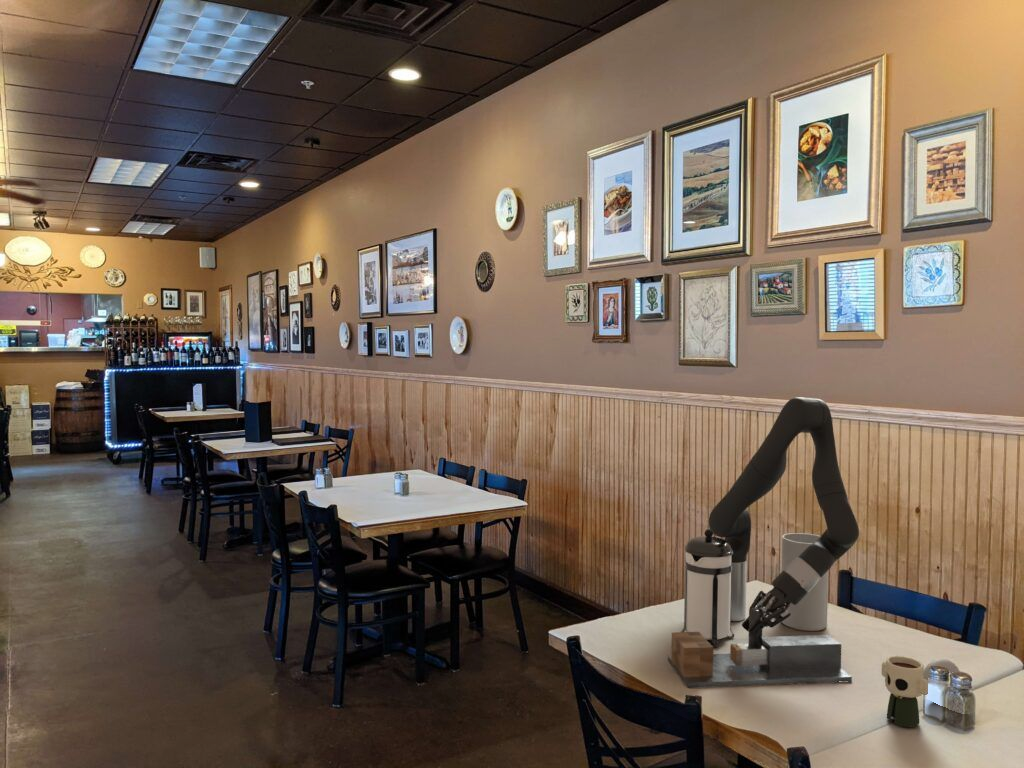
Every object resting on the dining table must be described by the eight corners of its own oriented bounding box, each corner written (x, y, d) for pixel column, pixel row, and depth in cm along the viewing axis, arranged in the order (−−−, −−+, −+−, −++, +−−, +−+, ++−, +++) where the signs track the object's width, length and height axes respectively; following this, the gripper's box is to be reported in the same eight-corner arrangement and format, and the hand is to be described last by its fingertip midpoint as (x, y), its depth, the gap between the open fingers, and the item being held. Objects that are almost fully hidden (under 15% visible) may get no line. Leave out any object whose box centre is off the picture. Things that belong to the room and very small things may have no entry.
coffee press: (746, 649, 201) (748, 536, 200) (685, 648, 201) (687, 535, 200) (728, 625, 218) (730, 521, 217) (672, 624, 219) (674, 521, 217)
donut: (928, 709, 168) (930, 664, 167) (916, 702, 171) (917, 658, 170) (964, 703, 171) (965, 659, 170) (951, 696, 174) (952, 653, 173)
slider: (730, 659, 188) (731, 608, 188) (822, 656, 191) (824, 605, 190) (736, 665, 185) (737, 613, 184) (830, 662, 187) (832, 610, 186)
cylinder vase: (771, 620, 223) (773, 535, 222) (803, 614, 228) (805, 531, 227) (804, 634, 211) (806, 545, 210) (836, 628, 217) (839, 541, 216)
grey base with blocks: (667, 660, 193) (667, 632, 193) (818, 655, 197) (818, 627, 197) (688, 687, 177) (688, 657, 177) (851, 681, 181) (852, 651, 181)
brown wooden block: (671, 660, 190) (671, 632, 190) (698, 659, 191) (698, 631, 191) (684, 677, 180) (684, 648, 180) (712, 676, 181) (713, 647, 181)
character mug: (869, 714, 165) (870, 655, 164) (892, 708, 168) (894, 650, 167) (914, 737, 155) (915, 675, 154) (938, 731, 158) (940, 669, 157)
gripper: (773, 562, 194) (726, 611, 193) (799, 578, 180) (748, 631, 179) (793, 582, 195) (745, 631, 194) (820, 600, 181) (770, 652, 180)
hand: (747, 630), depth 187 cm, fingers closed on slider, 3 cm apart
